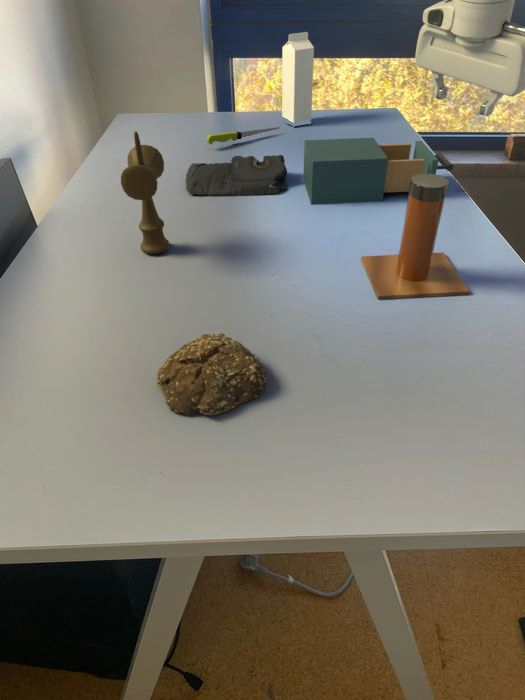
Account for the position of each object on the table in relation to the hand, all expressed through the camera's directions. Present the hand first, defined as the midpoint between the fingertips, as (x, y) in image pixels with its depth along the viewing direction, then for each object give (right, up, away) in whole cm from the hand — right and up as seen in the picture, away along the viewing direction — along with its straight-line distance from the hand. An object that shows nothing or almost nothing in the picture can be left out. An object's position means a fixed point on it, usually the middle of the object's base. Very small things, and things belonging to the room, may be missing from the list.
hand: (462, 105), depth 90 cm
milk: (-25, +21, +56) cm, 65 cm away
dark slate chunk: (-41, -6, +24) cm, 47 cm away
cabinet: (-18, -9, +19) cm, 28 cm away
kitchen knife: (-39, +12, +45) cm, 61 cm away
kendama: (-54, -25, +1) cm, 59 cm away
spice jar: (-11, -30, -8) cm, 33 cm away
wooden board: (-11, -31, -8) cm, 34 cm away
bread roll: (-41, -47, -26) cm, 68 cm away
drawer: (-5, -7, +19) cm, 21 cm away
